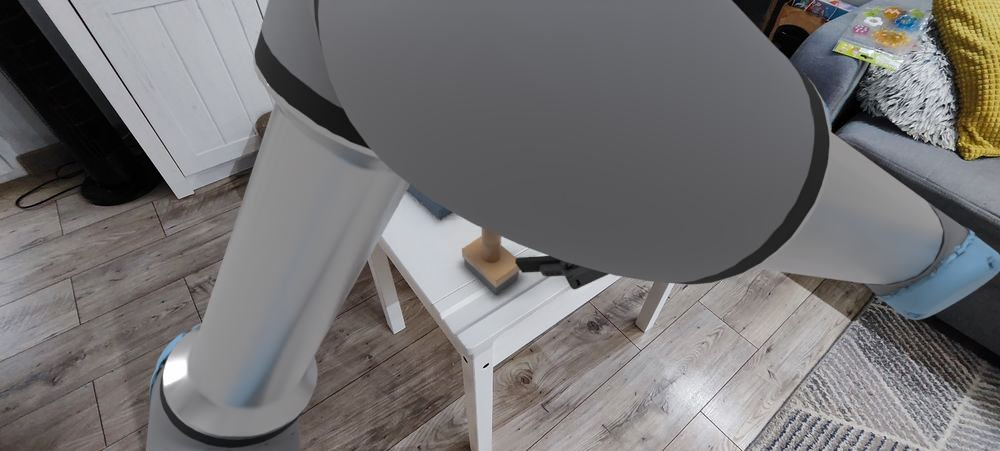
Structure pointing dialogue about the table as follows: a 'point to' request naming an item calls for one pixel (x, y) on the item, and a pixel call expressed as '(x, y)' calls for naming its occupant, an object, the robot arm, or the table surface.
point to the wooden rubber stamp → (491, 261)
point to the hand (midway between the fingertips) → (526, 225)
